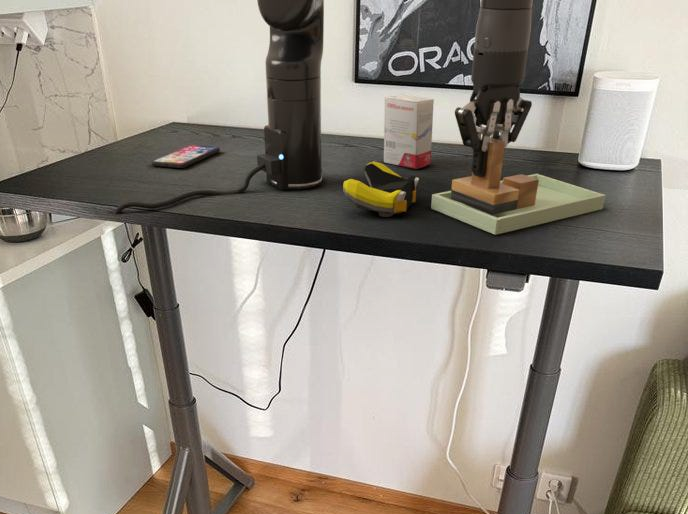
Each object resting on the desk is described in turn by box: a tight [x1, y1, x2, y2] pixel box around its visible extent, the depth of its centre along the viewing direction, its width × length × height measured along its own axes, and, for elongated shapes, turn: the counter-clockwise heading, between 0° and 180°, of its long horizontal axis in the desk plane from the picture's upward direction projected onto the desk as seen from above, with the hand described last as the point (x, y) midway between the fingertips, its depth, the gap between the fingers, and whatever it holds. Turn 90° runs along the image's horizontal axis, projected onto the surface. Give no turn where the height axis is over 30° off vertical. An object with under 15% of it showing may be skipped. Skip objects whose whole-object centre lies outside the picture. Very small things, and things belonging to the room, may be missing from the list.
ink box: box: [383, 93, 435, 170], centre depth 140 cm, size 9×5×12 cm, turn 44°
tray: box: [430, 173, 606, 236], centre depth 119 cm, size 24×16×2 cm, turn 122°
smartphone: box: [151, 144, 221, 169], centre depth 147 cm, size 8×1×15 cm
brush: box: [450, 136, 519, 215], centre depth 113 cm, size 5×10×10 cm, turn 32°
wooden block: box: [502, 173, 539, 209], centre depth 118 cm, size 4×4×4 cm
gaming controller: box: [342, 161, 420, 218], centre depth 120 cm, size 15×6×10 cm
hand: (486, 173), depth 113 cm, fingers closed on brush, 2 cm apart
